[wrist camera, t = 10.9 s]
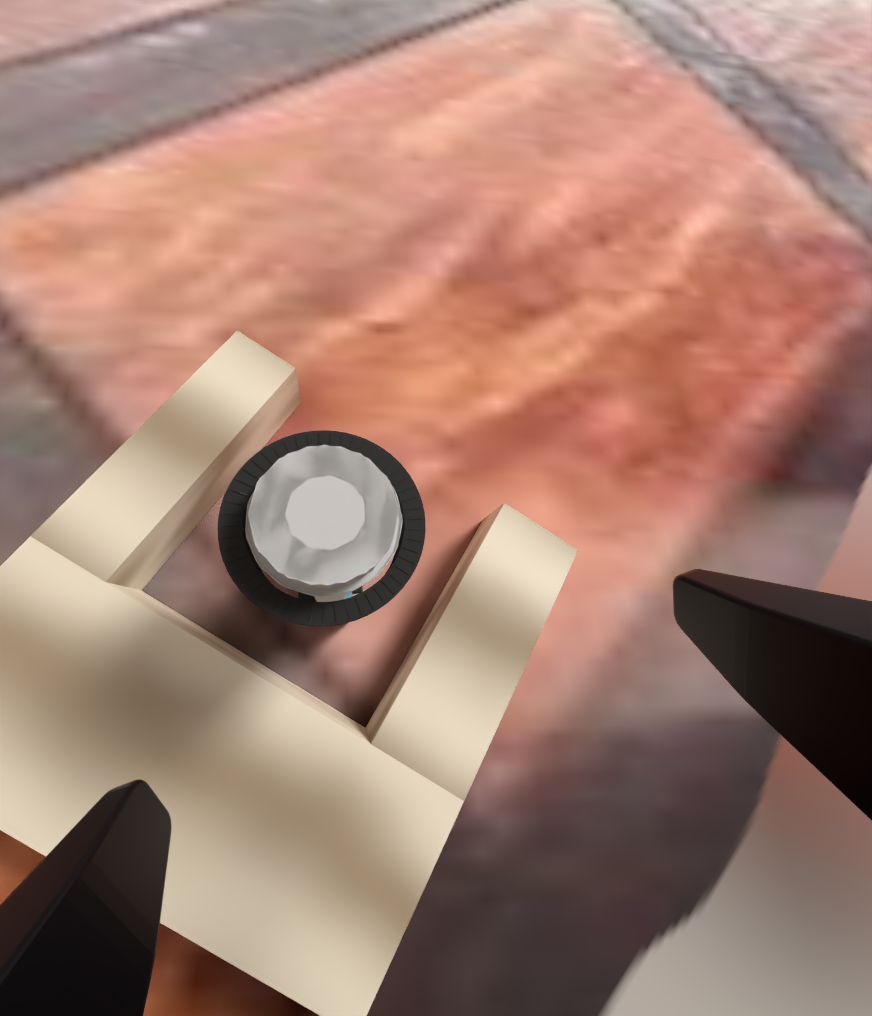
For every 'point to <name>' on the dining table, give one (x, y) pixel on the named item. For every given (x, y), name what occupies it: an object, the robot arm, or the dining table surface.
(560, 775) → the dining table surface
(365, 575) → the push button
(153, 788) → the notched board
